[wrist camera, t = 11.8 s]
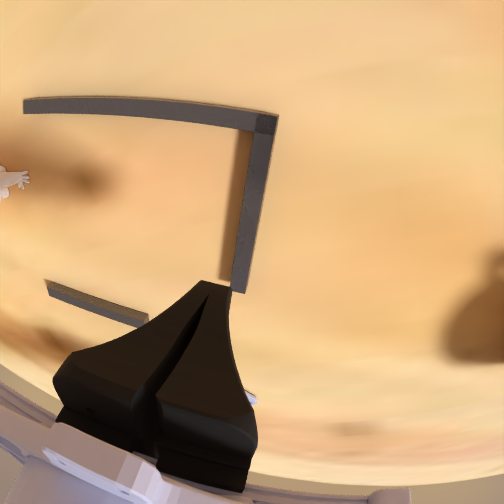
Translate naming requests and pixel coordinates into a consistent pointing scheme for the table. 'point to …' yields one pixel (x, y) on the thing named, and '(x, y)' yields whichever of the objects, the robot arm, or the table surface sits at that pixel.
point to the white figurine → (11, 181)
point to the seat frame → (187, 112)
